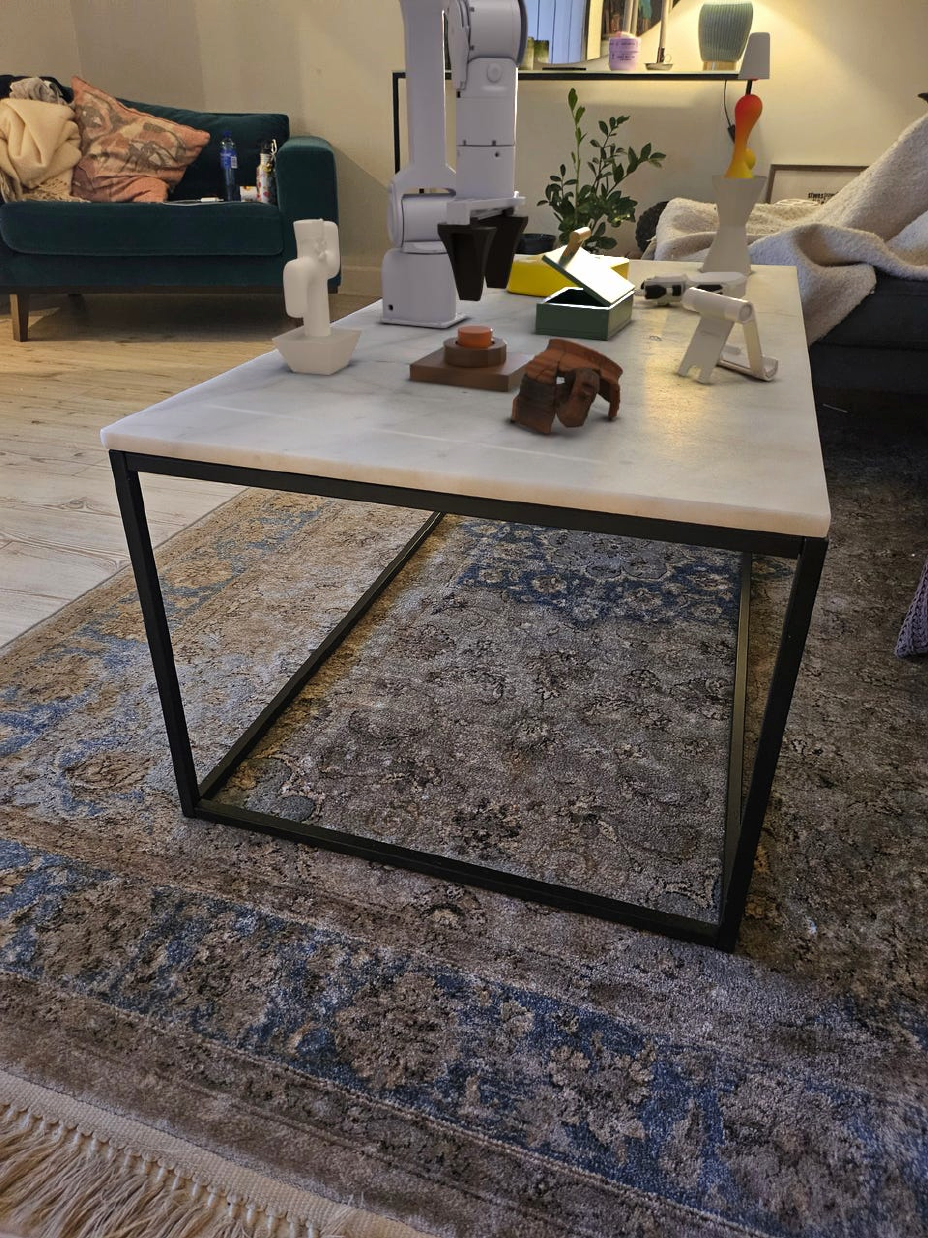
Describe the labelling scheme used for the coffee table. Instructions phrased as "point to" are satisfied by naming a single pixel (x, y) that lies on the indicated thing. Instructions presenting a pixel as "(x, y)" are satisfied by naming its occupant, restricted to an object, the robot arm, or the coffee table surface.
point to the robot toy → (692, 285)
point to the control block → (472, 366)
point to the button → (474, 336)
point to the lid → (588, 270)
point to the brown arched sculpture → (565, 386)
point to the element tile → (551, 275)
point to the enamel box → (581, 315)
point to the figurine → (314, 303)
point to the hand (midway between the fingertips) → (483, 293)
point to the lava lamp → (740, 171)
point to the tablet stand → (723, 337)
